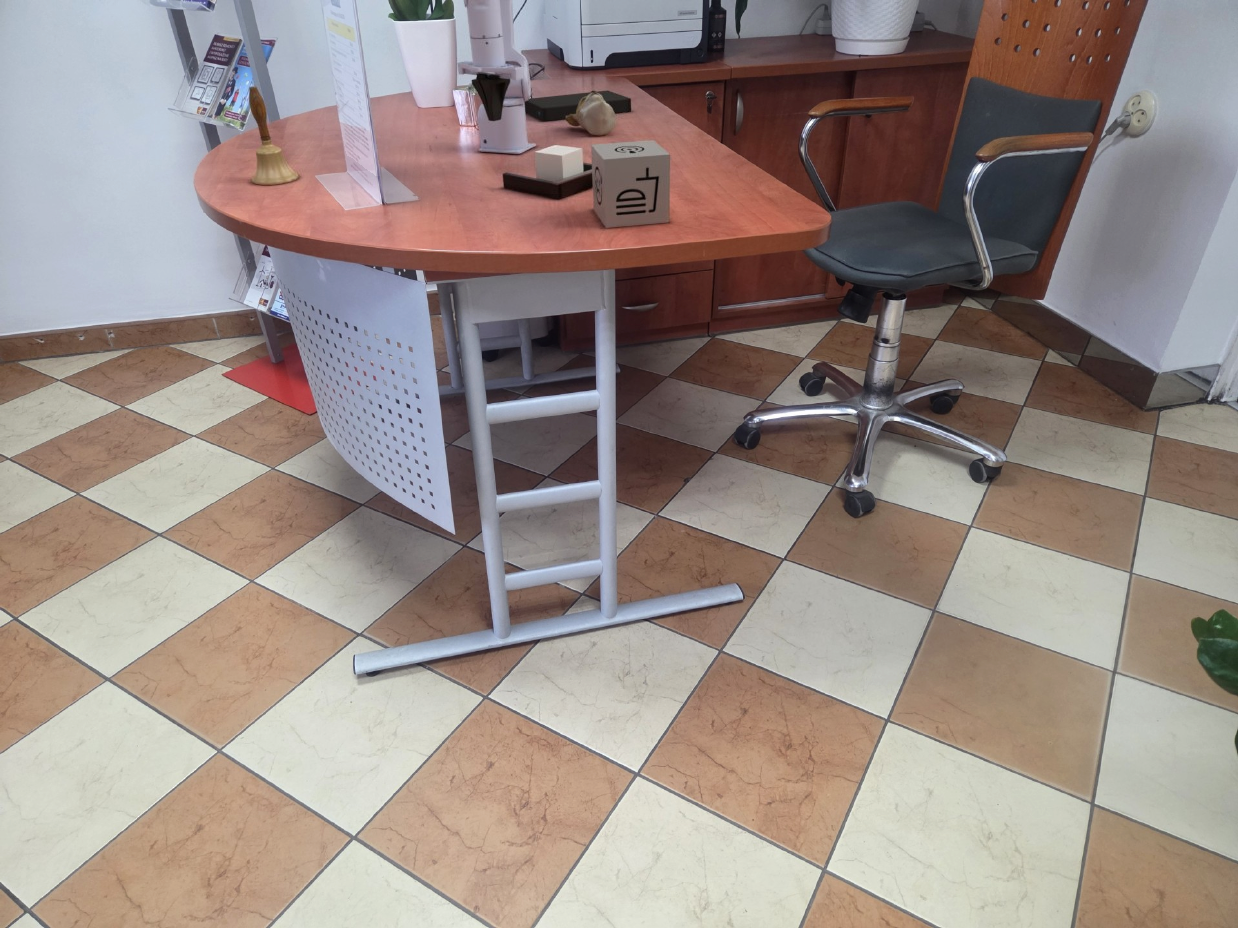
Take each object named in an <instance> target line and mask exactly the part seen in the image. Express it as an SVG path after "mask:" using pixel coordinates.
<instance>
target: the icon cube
mask: <svg viewBox="0 0 1238 928" xmlns="http://www.w3.org/2000/svg"><path fill="white" fill-rule="evenodd" d="M590 150H591V151H590V153H591V155H590V156H591V164H592V180H593V187H592V196H593V197H592V200H593V203H592V204H593V211H594V212H595V214H596V216H597V217H598V218H599V220H600V222H601V223H602V224H603V226H604V228H605V229H610V228H621V227H632V226H642V225H654V224H655V225H656V224H665V223H670V210H671V209H670V202H671V200H670V199H671V198H670V197H671V196H670V195H671V154H670V153H669V152H668V151H667V150H666V149H665V148H663V147H662V145H660V144H659V143H657V141H656V140H654V139H650V140H638V141H637V140H635V141H623V142H621V141H620V142H609V143H597V144H595V143H594V144H590Z"/></svg>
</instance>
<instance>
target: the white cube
mask: <svg viewBox="0 0 1238 928" xmlns="http://www.w3.org/2000/svg"><path fill="white" fill-rule="evenodd" d="M583 153H584V151H583V148H582V147H574V146H566V145H559V144H553V145H551V146H548V147H545V148H542V149H539V150H536V151H534V165H535V176H536V177H535V178H537V179H542V180H547V181H552V182H555V181H558V180H561V179H564V178H567V177H570V176H573V175H576V174H579V173H582V172H583V163H584V155H583Z"/></svg>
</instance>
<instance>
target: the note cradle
mask: <svg viewBox="0 0 1238 928" xmlns="http://www.w3.org/2000/svg"><path fill="white" fill-rule="evenodd" d="M502 184H503V189H507V190H512V191H516V192H521V193H526V194H529V195H535V196H539V197H544V198H549V199H553V200H561V199H564V198H567V197H570V196H573V195H576V194H578V193H581V192H584V191H587V190H589V189H593V180H592V163H588V162H583V172H582V173H579V174H576V175H573V176H570V177H567V178H564V179H561V180H558V181H555V182H552V181H547V180H542V179H537V178H536V177H532V176H526V175H522V174H521V175H520V174H516V173H510V172H503V173H502Z"/></svg>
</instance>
